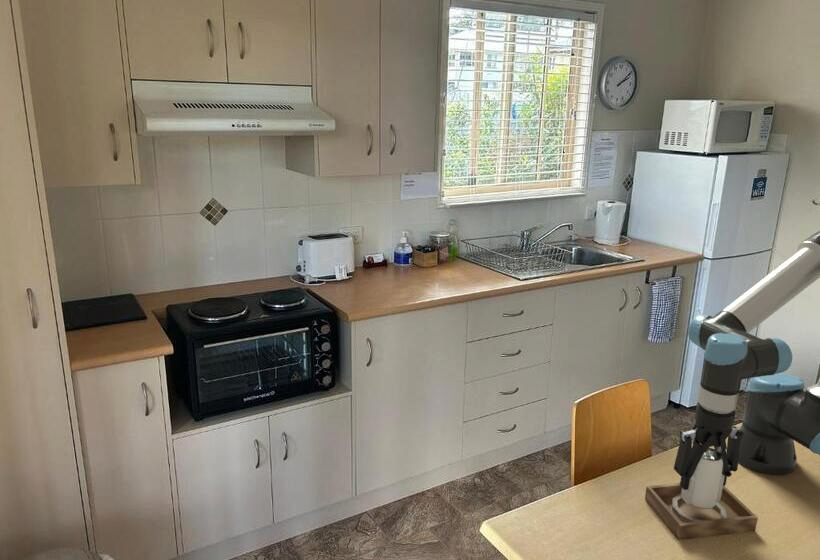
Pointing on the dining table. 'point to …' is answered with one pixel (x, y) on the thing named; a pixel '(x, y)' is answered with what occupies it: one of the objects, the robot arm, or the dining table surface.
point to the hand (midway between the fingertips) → (700, 499)
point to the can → (707, 480)
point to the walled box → (699, 513)
